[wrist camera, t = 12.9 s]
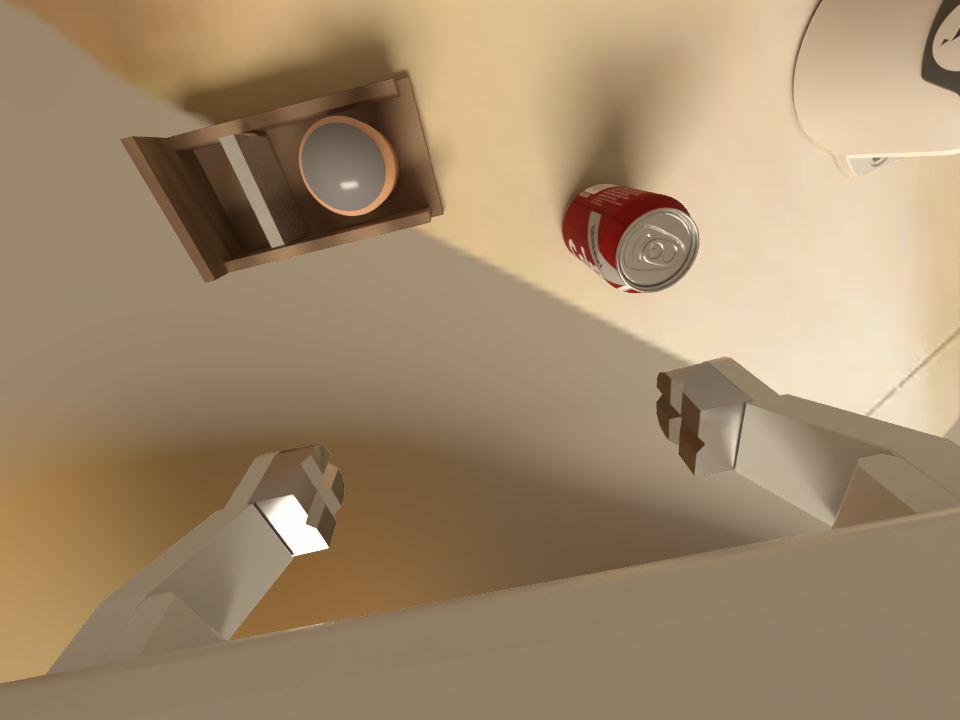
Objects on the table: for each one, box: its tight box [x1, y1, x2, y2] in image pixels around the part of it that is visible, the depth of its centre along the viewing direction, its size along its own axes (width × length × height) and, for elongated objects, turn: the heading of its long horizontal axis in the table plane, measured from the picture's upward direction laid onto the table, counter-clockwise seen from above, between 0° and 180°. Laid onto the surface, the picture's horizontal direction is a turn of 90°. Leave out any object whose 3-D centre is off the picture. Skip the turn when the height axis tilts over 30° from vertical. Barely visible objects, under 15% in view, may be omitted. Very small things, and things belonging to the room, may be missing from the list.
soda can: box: [562, 183, 699, 293], centre depth 31 cm, size 7×7×12 cm
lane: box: [121, 77, 443, 282], centre depth 29 cm, size 18×10×7 cm, turn 103°
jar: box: [299, 116, 400, 216], centre depth 28 cm, size 6×6×7 cm
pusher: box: [219, 134, 308, 248], centre depth 29 cm, size 3×7×6 cm, turn 13°
